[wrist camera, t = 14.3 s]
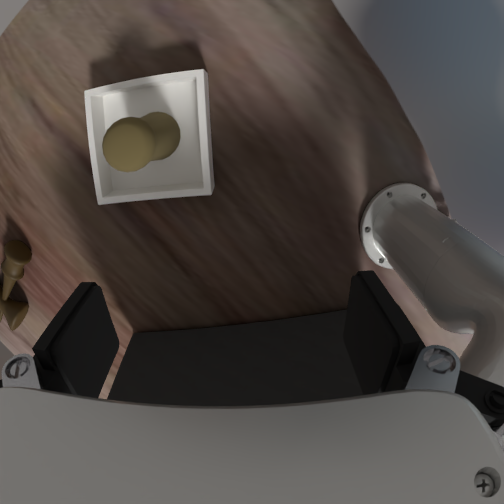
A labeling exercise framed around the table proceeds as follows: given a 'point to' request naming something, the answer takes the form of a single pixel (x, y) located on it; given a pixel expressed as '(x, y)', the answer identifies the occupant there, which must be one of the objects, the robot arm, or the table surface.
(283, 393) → the laptop
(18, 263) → the kendama
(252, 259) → the table surface
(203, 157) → the box
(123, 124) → the cork
